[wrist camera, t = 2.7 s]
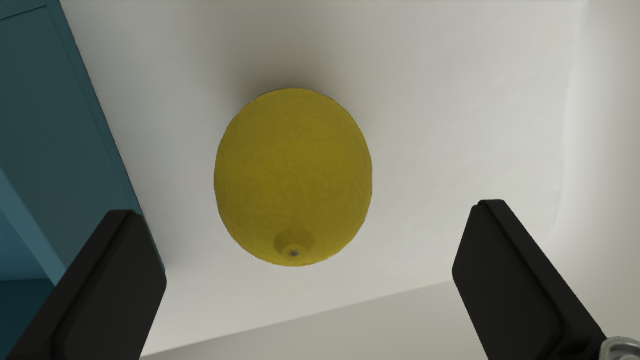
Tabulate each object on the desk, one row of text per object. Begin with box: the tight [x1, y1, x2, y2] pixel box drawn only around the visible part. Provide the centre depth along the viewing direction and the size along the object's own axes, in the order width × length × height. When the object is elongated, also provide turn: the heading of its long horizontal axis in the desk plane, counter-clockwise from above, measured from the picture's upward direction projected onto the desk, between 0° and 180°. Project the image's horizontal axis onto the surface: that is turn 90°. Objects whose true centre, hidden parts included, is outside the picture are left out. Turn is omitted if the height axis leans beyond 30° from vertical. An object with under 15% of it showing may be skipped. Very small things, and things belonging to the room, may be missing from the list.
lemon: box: [214, 88, 372, 266], centre depth 13 cm, size 6×6×8 cm
